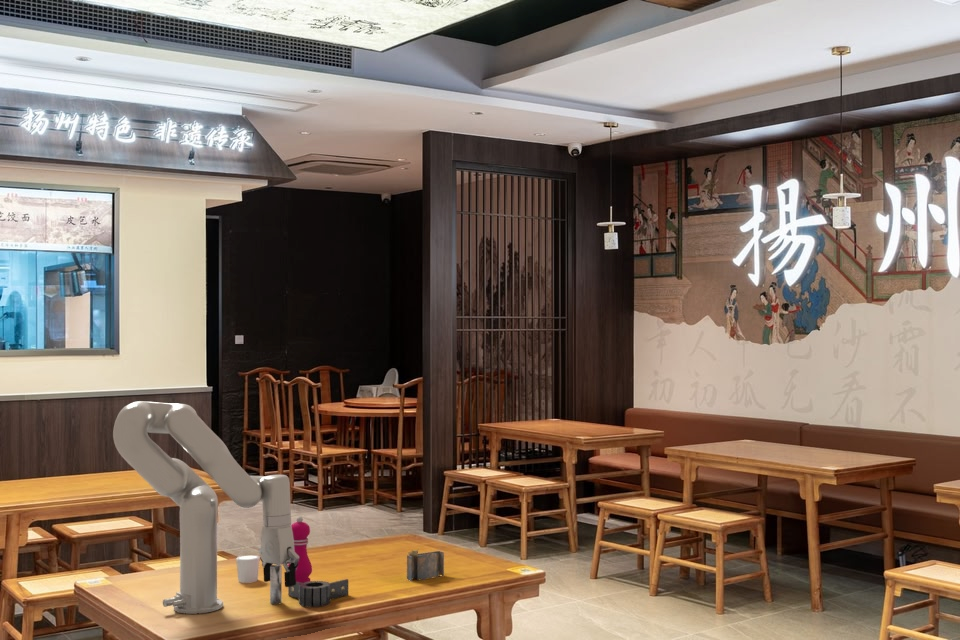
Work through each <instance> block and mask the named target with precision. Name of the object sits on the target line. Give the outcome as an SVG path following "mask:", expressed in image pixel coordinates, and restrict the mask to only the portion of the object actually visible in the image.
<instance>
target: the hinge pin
mask: <svg viewBox="0 0 960 640" xmlns="http://www.w3.org/2000/svg"><path fill="white" fill-rule="evenodd" d="M282 566H283V565H282V564H281V565H276V564H272V566H270V581H269V586H270V587H269V593H270V594H269V598H270V599H269V600H270V601H269V603H270V604H271V605H280V604H279V603H281V604H282V592H283V591H282V590H283V589H282V585H283V584H282V581H283V580H282V568H283V567H282Z"/></svg>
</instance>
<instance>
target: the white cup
mask: <svg viewBox="0 0 960 640" xmlns="http://www.w3.org/2000/svg"><path fill="white" fill-rule="evenodd" d="M260 557H261V556H260V555H255V554H245V555H241V556H240V555H239V556H237V557H236V558H235V560H236V571H237V581H239V582H238V583H241V584H250V583H255V582H257V581H258V580H259V570H260V561H261V559H260Z"/></svg>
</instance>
